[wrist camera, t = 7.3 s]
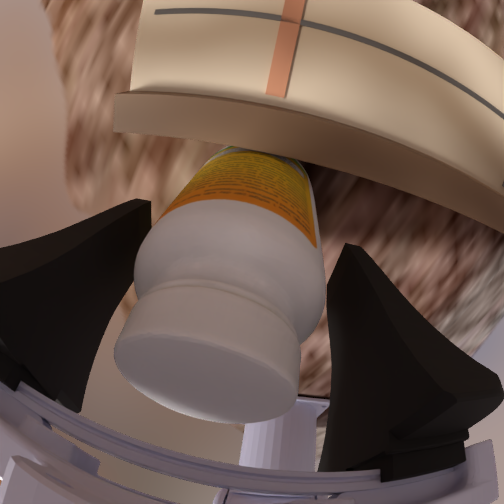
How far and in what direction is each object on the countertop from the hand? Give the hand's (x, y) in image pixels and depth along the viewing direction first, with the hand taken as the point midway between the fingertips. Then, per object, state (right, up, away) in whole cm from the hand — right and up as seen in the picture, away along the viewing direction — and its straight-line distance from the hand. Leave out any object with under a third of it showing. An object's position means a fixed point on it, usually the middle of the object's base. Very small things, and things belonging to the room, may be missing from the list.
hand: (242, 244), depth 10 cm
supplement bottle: (+1, +2, +3) cm, 4 cm away
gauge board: (+6, +7, -1) cm, 9 cm away
